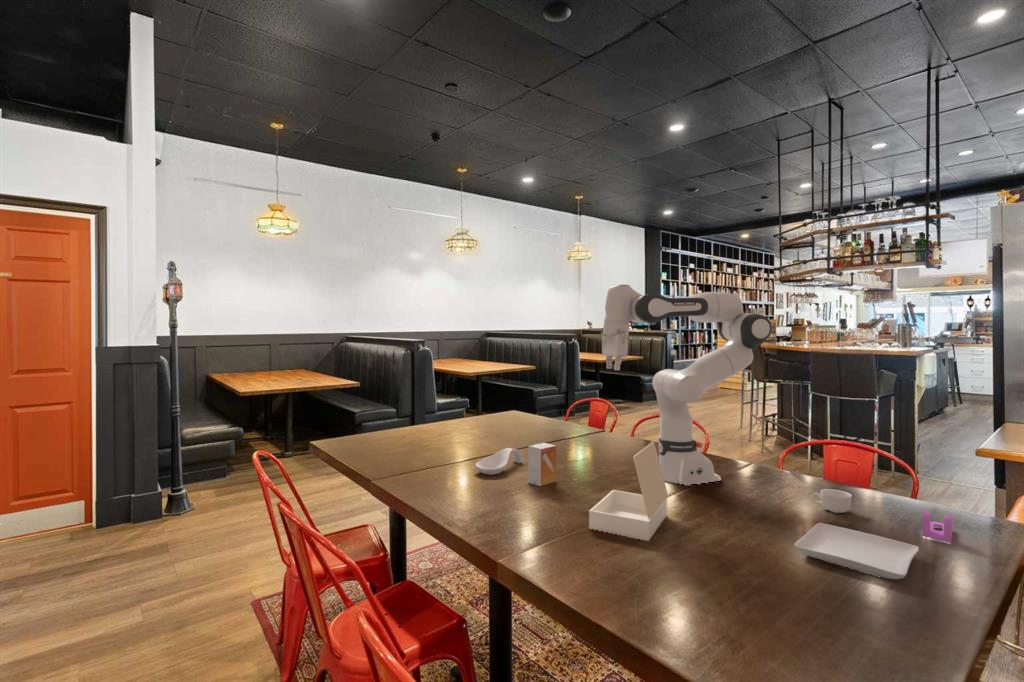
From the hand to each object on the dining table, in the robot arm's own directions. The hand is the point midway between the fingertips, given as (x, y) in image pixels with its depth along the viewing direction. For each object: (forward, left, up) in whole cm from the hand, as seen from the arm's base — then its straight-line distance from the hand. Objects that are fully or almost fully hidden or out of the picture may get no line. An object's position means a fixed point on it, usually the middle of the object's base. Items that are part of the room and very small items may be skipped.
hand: (612, 369), depth 177 cm
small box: (+25, -1, -40) cm, 47 cm away
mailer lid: (+2, +41, -26) cm, 49 cm away
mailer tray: (+7, +38, -40) cm, 55 cm away
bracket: (-71, +54, -40) cm, 98 cm away
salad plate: (-39, +64, -40) cm, 85 cm away
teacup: (-56, +35, -40) cm, 77 cm away
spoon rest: (+38, -19, -40) cm, 58 cm away
